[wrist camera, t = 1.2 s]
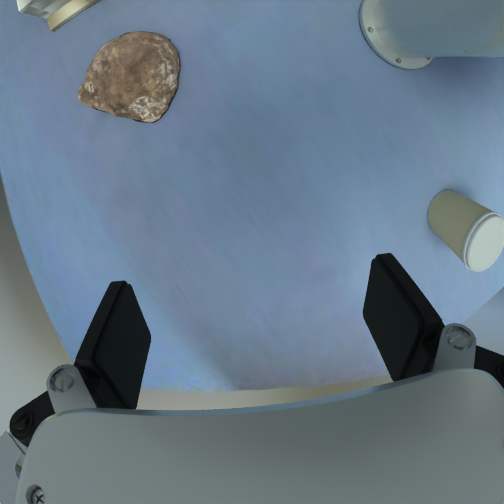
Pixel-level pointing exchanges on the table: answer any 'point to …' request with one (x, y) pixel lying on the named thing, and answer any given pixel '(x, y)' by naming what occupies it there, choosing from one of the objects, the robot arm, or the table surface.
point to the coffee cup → (467, 229)
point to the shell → (133, 77)
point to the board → (54, 10)
